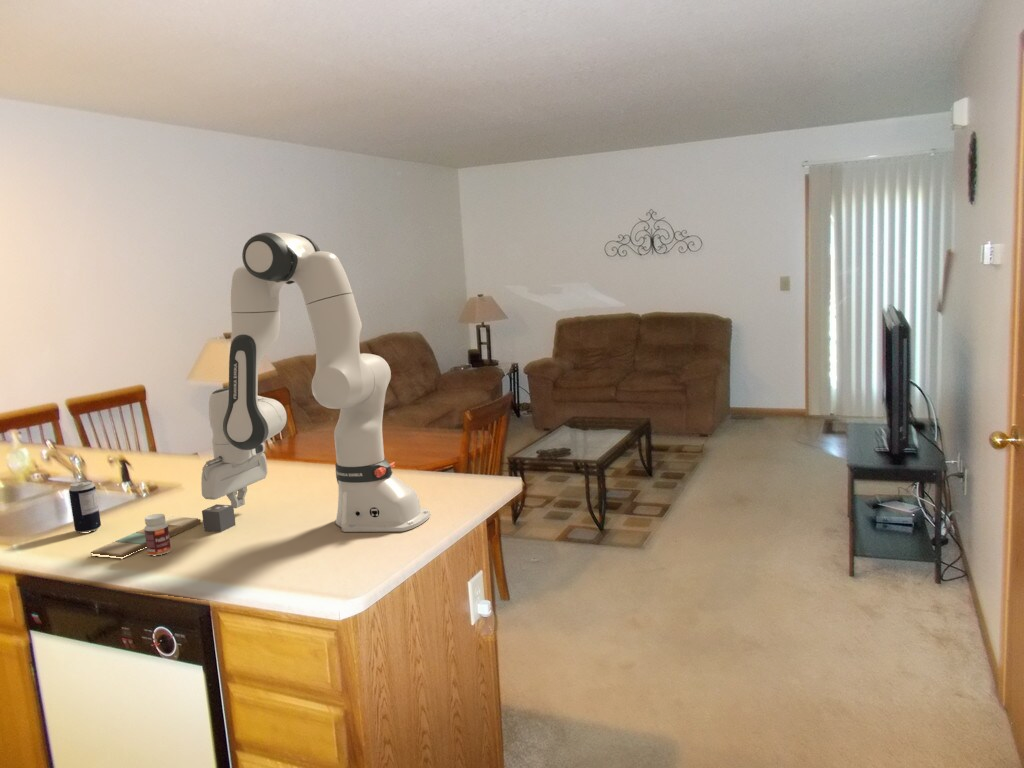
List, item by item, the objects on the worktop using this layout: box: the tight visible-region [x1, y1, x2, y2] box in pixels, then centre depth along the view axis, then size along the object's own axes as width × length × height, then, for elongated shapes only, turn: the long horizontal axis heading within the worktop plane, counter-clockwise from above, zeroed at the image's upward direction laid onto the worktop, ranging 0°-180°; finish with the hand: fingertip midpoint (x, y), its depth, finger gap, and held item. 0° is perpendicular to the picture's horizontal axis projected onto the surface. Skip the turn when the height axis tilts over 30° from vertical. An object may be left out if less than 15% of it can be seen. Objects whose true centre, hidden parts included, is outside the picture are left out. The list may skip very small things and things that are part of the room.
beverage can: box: [68, 480, 102, 533], centre depth 192 cm, size 6×6×12 cm
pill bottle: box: [143, 513, 172, 556], centre depth 174 cm, size 5×5×8 cm
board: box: [90, 516, 202, 557], centre depth 184 cm, size 9×24×1 cm, turn 160°
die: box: [201, 504, 236, 533], centre depth 189 cm, size 5×5×5 cm
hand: (238, 506), depth 196 cm, fingers closed
